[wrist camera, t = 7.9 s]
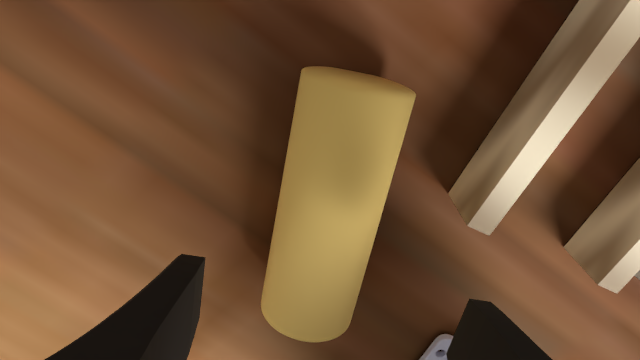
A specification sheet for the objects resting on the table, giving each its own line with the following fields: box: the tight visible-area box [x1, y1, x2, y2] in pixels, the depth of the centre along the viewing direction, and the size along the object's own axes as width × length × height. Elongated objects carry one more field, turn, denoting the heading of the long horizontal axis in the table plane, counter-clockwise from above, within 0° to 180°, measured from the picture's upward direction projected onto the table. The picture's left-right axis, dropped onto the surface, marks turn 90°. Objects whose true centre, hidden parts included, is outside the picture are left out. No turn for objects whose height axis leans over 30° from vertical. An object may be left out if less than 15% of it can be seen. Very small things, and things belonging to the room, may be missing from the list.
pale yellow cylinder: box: [261, 66, 416, 342], centre depth 17 cm, size 10×4×4 cm, turn 169°
